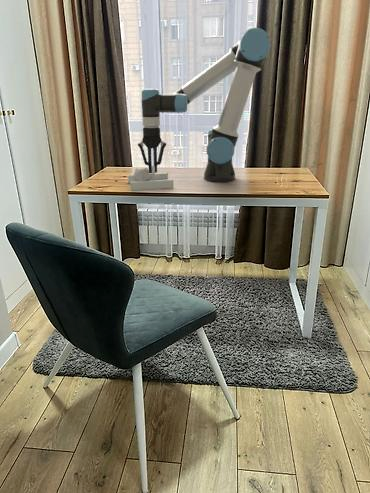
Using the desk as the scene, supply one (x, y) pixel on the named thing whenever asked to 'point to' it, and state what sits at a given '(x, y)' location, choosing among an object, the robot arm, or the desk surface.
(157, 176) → the grey u-shaped frame
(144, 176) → the die
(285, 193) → the desk surface
